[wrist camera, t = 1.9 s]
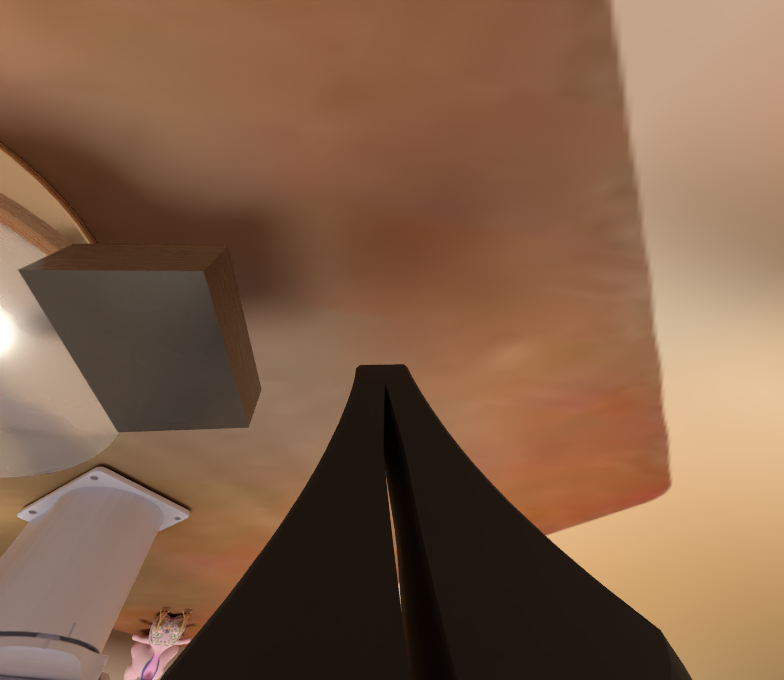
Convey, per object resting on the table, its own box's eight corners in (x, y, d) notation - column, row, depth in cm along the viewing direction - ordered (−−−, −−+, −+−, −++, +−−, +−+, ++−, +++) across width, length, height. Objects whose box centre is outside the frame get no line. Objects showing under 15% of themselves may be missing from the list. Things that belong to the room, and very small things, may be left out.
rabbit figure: (153, 590, 39) (119, 658, 43) (126, 656, 33) (90, 726, 38) (209, 597, 41) (172, 661, 45) (192, 659, 36) (151, 725, 40)
